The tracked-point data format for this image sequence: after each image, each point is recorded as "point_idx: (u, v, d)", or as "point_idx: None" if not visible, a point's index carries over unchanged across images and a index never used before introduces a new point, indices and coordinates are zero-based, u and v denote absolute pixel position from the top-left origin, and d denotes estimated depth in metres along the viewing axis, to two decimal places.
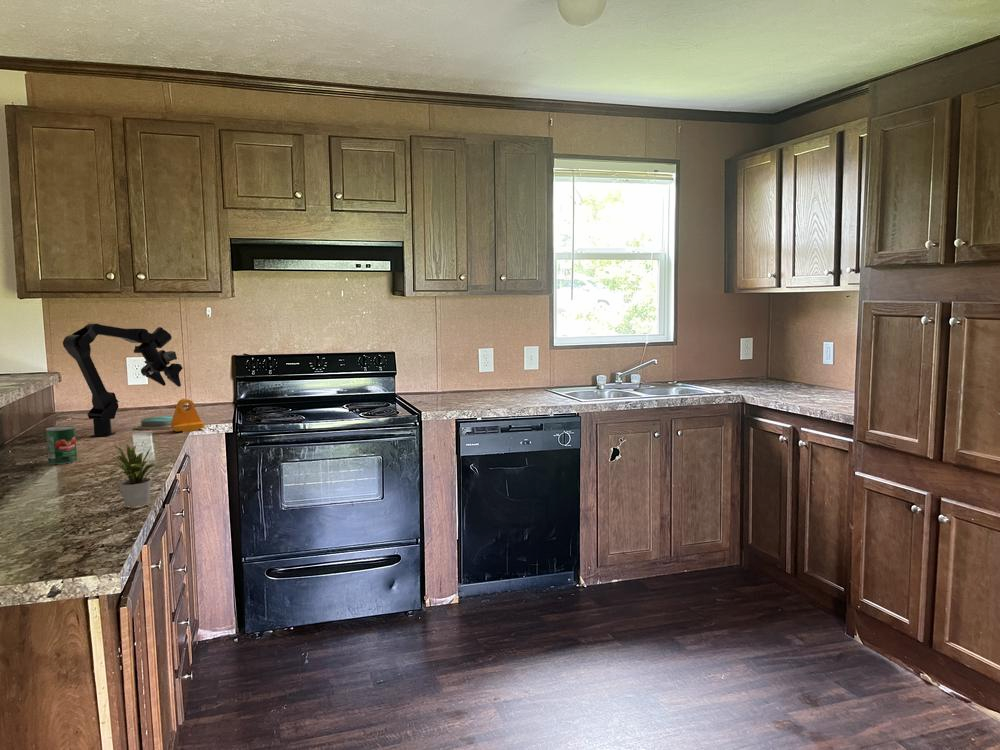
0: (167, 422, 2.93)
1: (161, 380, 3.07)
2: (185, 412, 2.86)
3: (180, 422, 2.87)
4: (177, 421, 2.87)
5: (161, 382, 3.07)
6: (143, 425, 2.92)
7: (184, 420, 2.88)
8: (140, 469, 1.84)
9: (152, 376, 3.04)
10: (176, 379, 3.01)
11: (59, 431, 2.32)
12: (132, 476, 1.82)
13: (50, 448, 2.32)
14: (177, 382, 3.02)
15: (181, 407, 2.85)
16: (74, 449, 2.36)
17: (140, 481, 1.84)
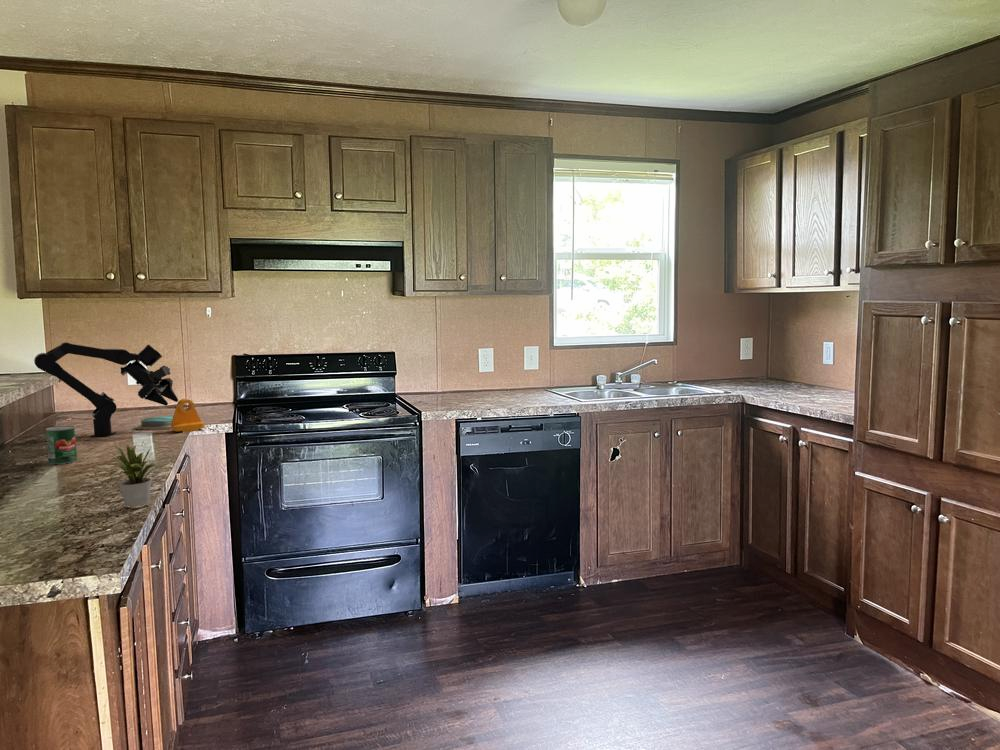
0: (167, 422, 2.93)
1: (172, 396, 2.91)
2: (185, 412, 2.86)
3: (180, 422, 2.87)
4: (177, 421, 2.87)
5: (172, 398, 2.91)
6: (143, 425, 2.92)
7: (185, 420, 2.88)
8: (140, 469, 1.84)
9: (162, 393, 2.92)
10: (157, 398, 2.81)
11: (59, 431, 2.32)
12: (132, 476, 1.82)
13: (50, 448, 2.32)
14: (160, 401, 2.81)
15: (181, 407, 2.85)
16: (74, 449, 2.36)
17: (140, 481, 1.84)
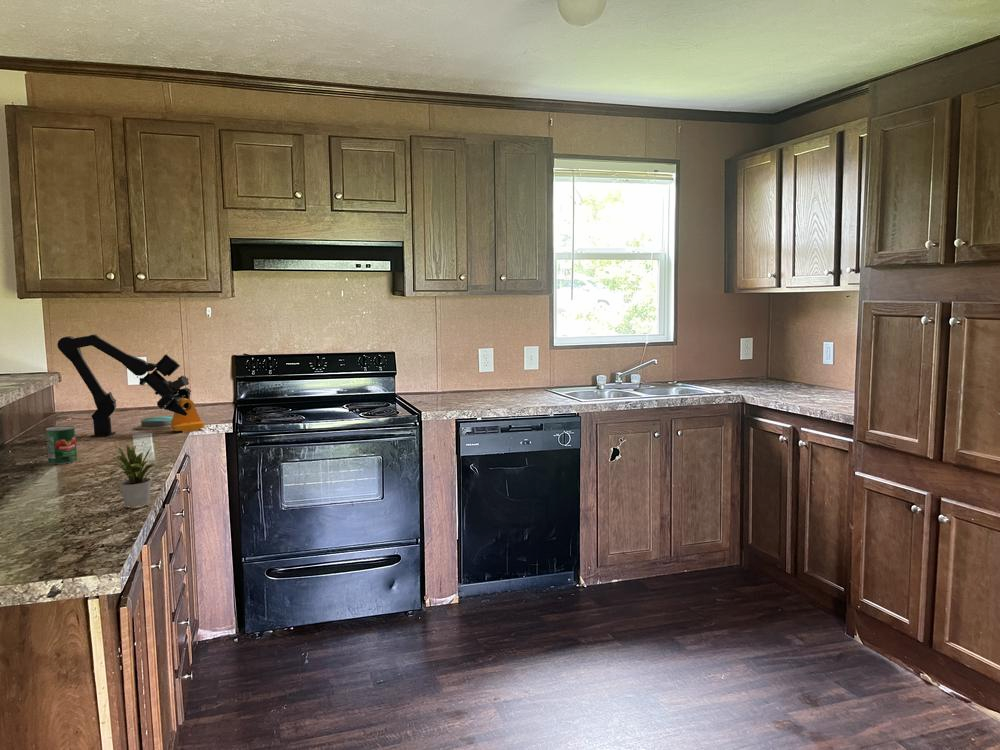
0: (167, 422, 2.93)
1: None
2: None
3: (180, 422, 2.87)
4: (177, 420, 2.87)
5: None
6: (143, 425, 2.92)
7: (184, 420, 2.88)
8: (140, 469, 1.84)
9: None
10: (177, 408, 2.82)
11: (59, 431, 2.32)
12: (132, 476, 1.82)
13: (50, 448, 2.32)
14: (179, 411, 2.82)
15: None
16: (74, 449, 2.36)
17: (140, 481, 1.84)
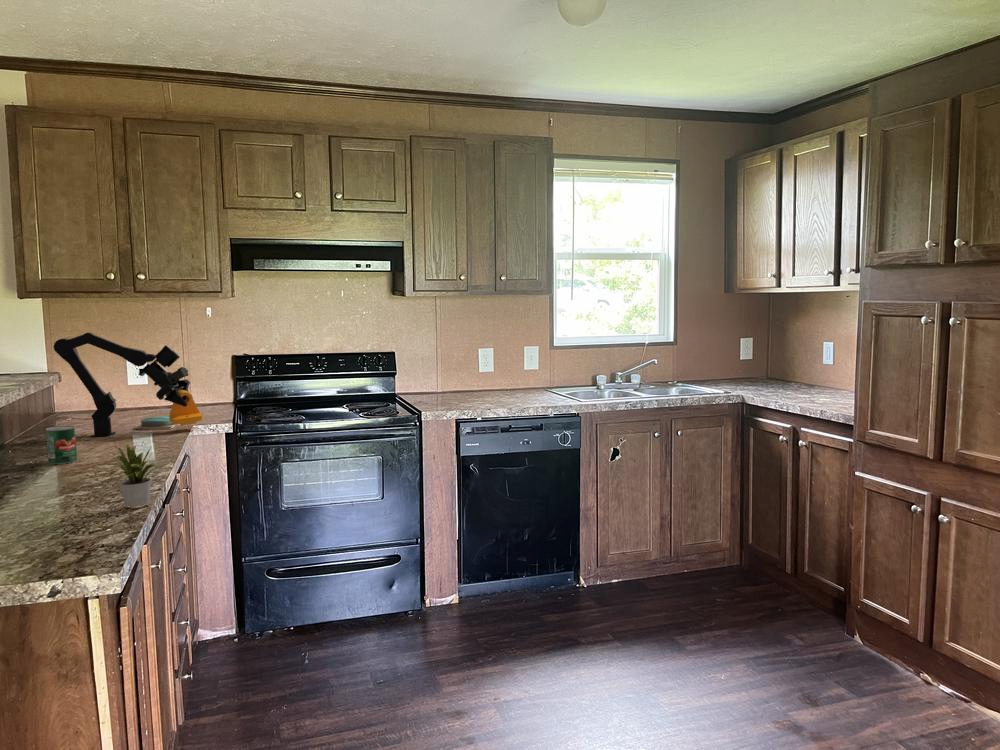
0: (167, 422, 2.93)
1: None
2: None
3: (178, 414, 2.87)
4: (176, 413, 2.86)
5: None
6: (143, 425, 2.92)
7: (183, 411, 2.88)
8: (140, 469, 1.84)
9: None
10: (177, 399, 2.82)
11: (59, 431, 2.32)
12: (132, 476, 1.82)
13: (50, 448, 2.32)
14: (179, 402, 2.83)
15: None
16: (74, 449, 2.36)
17: (140, 481, 1.84)
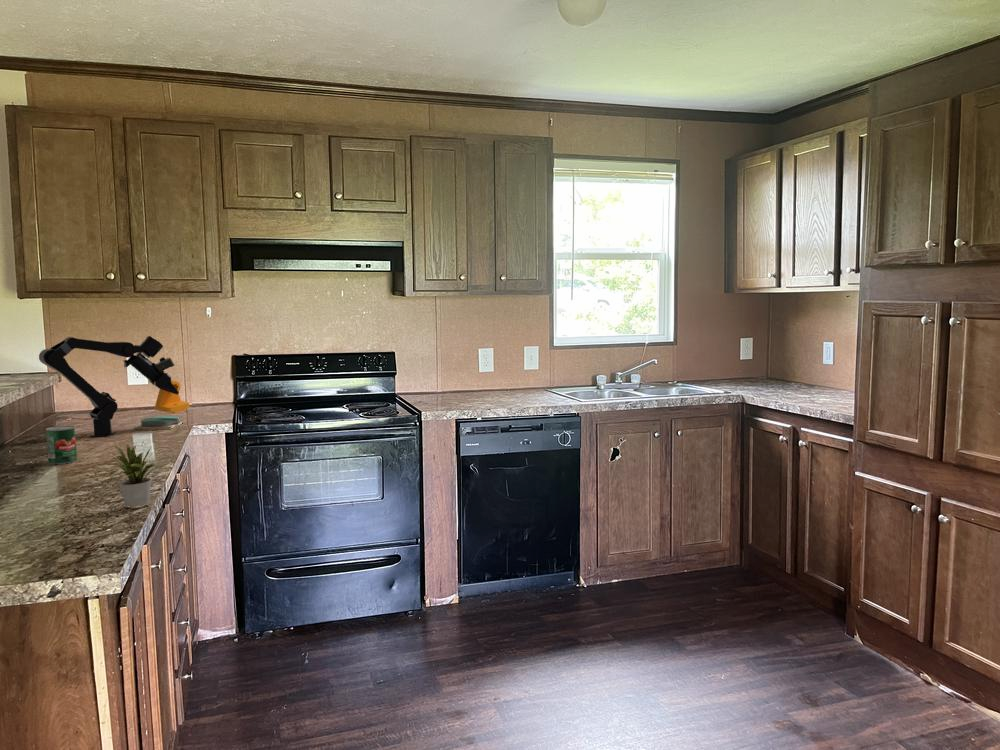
0: (167, 422, 2.93)
1: None
2: (173, 393, 2.94)
3: (165, 403, 2.94)
4: (163, 402, 2.93)
5: None
6: (143, 425, 2.92)
7: (169, 400, 2.96)
8: (140, 469, 1.84)
9: None
10: (170, 388, 2.91)
11: (59, 431, 2.32)
12: (132, 476, 1.82)
13: (50, 448, 2.32)
14: (172, 390, 2.92)
15: None
16: (74, 449, 2.36)
17: (140, 481, 1.84)
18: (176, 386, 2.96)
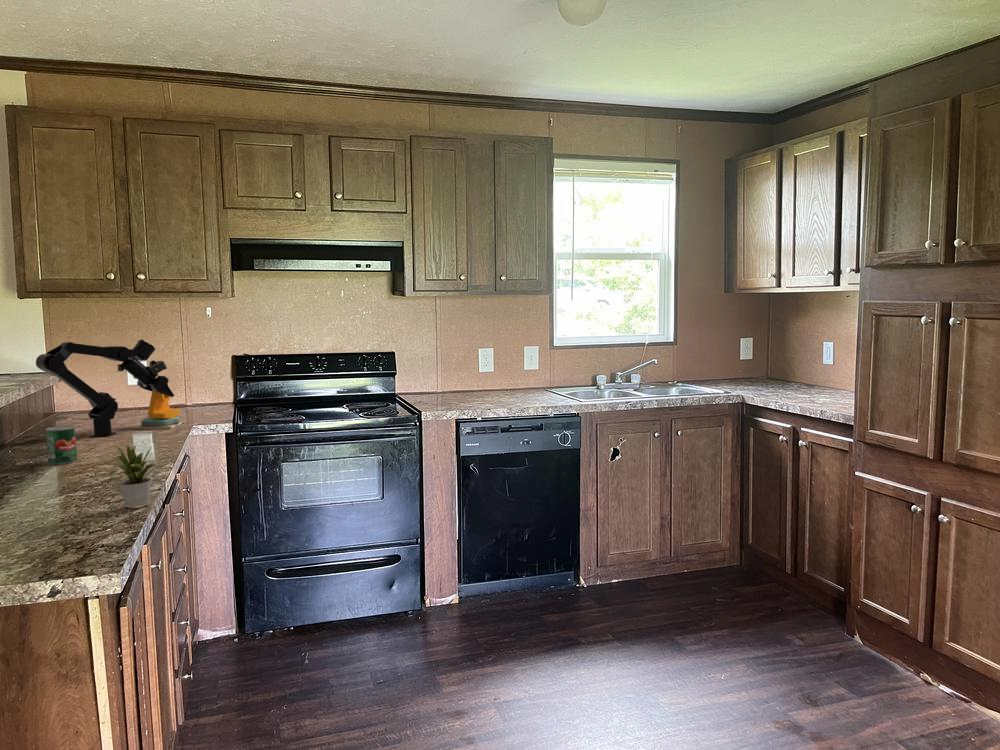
0: (167, 422, 2.93)
1: None
2: (165, 400, 2.97)
3: (157, 410, 2.97)
4: (156, 409, 2.96)
5: None
6: (143, 425, 2.92)
7: (160, 408, 2.98)
8: (140, 469, 1.84)
9: (148, 388, 2.98)
10: (166, 391, 2.93)
11: (59, 431, 2.32)
12: (132, 476, 1.82)
13: (50, 448, 2.32)
14: (168, 393, 2.94)
15: (163, 395, 2.96)
16: (74, 449, 2.36)
17: (140, 481, 1.84)
18: None
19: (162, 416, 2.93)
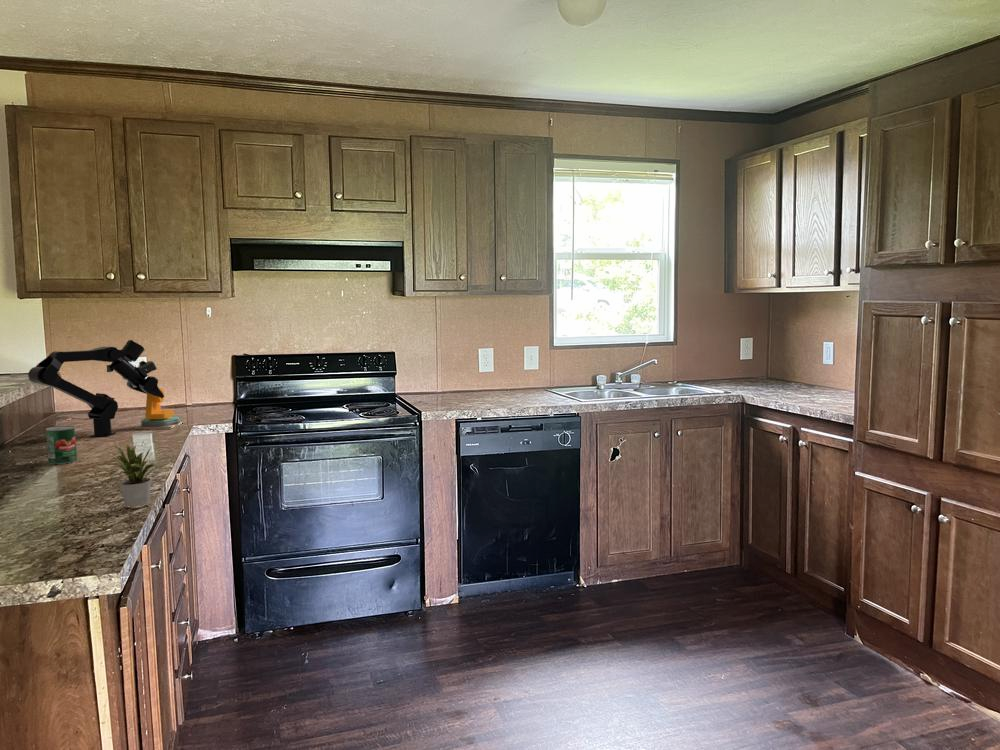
0: (167, 422, 2.93)
1: None
2: (161, 400, 2.96)
3: (154, 412, 2.95)
4: (153, 410, 2.94)
5: None
6: (143, 425, 2.92)
7: (155, 409, 2.97)
8: (140, 469, 1.84)
9: (138, 389, 2.96)
10: (156, 391, 2.90)
11: (59, 431, 2.32)
12: (132, 476, 1.82)
13: (50, 448, 2.32)
14: (158, 394, 2.91)
15: None
16: (74, 449, 2.36)
17: (140, 481, 1.84)
18: None
19: (162, 416, 2.93)
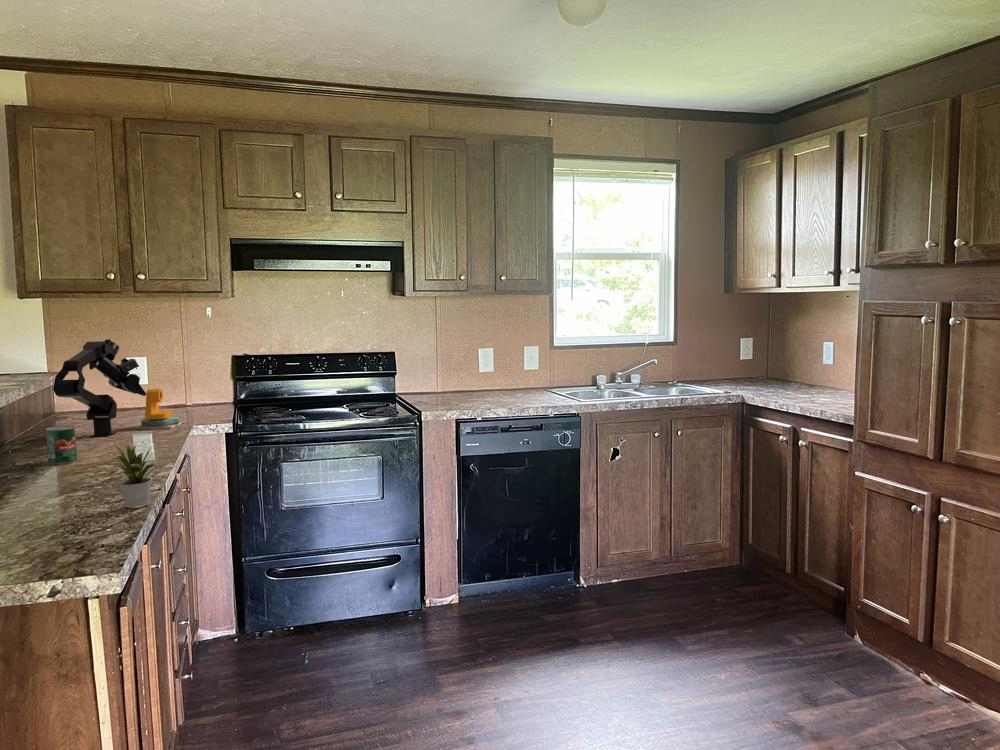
0: (167, 422, 2.93)
1: None
2: (160, 400, 2.96)
3: (153, 412, 2.95)
4: (152, 410, 2.94)
5: None
6: (143, 425, 2.92)
7: (154, 409, 2.96)
8: (140, 469, 1.84)
9: (120, 387, 2.91)
10: (138, 389, 2.86)
11: (59, 431, 2.32)
12: (132, 476, 1.82)
13: (50, 448, 2.32)
14: (140, 392, 2.87)
15: (159, 396, 2.95)
16: (74, 449, 2.36)
17: (140, 481, 1.84)
18: (160, 394, 2.98)
19: (162, 416, 2.93)
